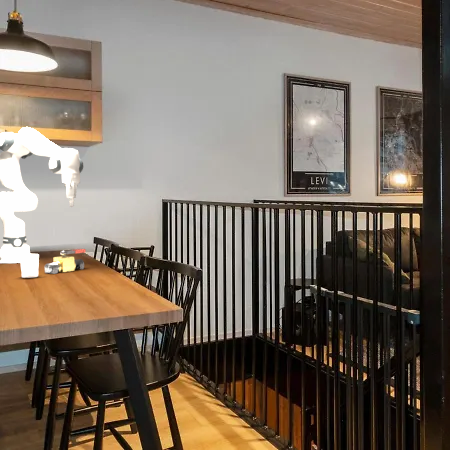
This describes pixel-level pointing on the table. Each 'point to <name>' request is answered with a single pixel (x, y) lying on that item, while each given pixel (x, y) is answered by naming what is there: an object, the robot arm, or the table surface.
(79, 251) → the lever
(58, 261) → the valve
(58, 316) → the table surface
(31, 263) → the white cup
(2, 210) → the robot arm
